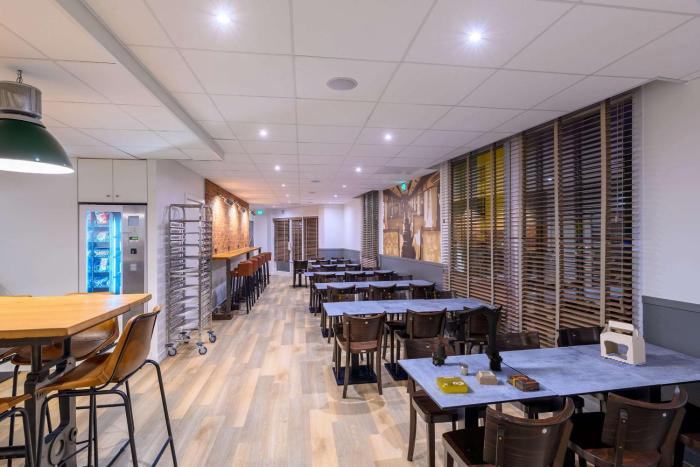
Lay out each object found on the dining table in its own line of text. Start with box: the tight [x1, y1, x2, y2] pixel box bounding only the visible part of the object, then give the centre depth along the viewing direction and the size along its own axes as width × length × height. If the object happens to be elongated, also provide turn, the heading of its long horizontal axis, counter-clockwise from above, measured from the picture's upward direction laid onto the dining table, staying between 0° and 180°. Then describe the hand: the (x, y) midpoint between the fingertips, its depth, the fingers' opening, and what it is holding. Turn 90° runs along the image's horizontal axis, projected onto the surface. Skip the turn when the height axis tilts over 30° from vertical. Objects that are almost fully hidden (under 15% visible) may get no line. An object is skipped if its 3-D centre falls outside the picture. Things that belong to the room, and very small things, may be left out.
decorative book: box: [505, 373, 540, 393], centre depth 201 cm, size 11×16×5 cm
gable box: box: [599, 320, 646, 365], centre depth 245 cm, size 22×13×28 cm, turn 20°
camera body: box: [476, 370, 498, 386], centre depth 207 cm, size 10×8×6 cm
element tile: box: [436, 376, 469, 394], centre depth 199 cm, size 15×15×5 cm
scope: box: [431, 343, 448, 367], centre depth 240 cm, size 8×14×10 cm
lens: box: [459, 363, 469, 377], centre depth 220 cm, size 5×5×6 cm
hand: (461, 354), depth 223 cm, fingers open, 9 cm apart
